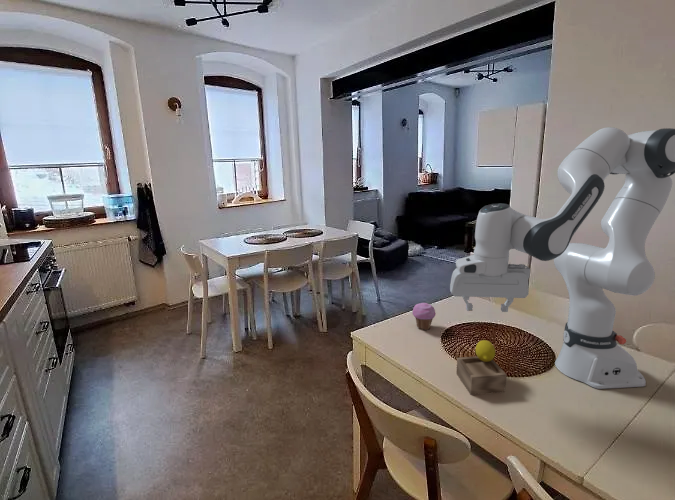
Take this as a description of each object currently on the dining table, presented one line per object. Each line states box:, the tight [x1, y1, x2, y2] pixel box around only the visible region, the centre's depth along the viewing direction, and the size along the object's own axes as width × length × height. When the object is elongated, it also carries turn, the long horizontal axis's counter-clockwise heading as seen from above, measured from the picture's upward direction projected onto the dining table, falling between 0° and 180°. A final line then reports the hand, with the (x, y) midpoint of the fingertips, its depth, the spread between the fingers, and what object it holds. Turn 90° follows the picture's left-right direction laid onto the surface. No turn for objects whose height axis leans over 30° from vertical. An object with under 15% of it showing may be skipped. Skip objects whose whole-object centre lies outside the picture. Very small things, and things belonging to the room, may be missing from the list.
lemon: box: [475, 339, 496, 362], centre depth 107 cm, size 6×6×8 cm
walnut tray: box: [456, 355, 507, 396], centre depth 105 cm, size 10×10×6 cm
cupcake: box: [412, 302, 437, 331], centre depth 139 cm, size 9×9×10 cm
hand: (486, 310), depth 101 cm, fingers open, 8 cm apart
